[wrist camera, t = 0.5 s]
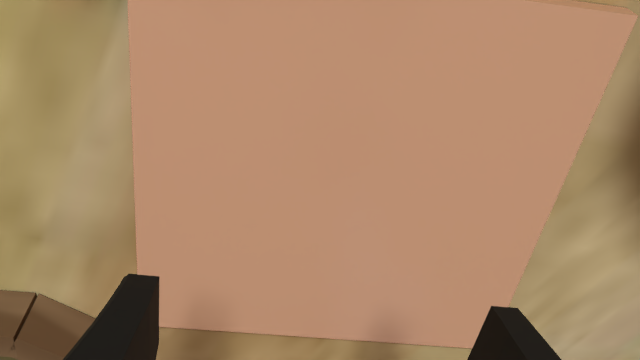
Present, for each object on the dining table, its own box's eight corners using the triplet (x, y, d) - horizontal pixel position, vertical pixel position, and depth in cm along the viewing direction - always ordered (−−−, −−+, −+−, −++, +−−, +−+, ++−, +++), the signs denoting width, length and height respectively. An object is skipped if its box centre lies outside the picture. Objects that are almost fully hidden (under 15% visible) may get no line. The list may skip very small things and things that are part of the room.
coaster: (484, 336, 29) (489, 349, 28) (142, 311, 27) (139, 325, 26) (626, 8, 20) (638, 16, 19) (131, -61, 18) (125, -55, 17)
